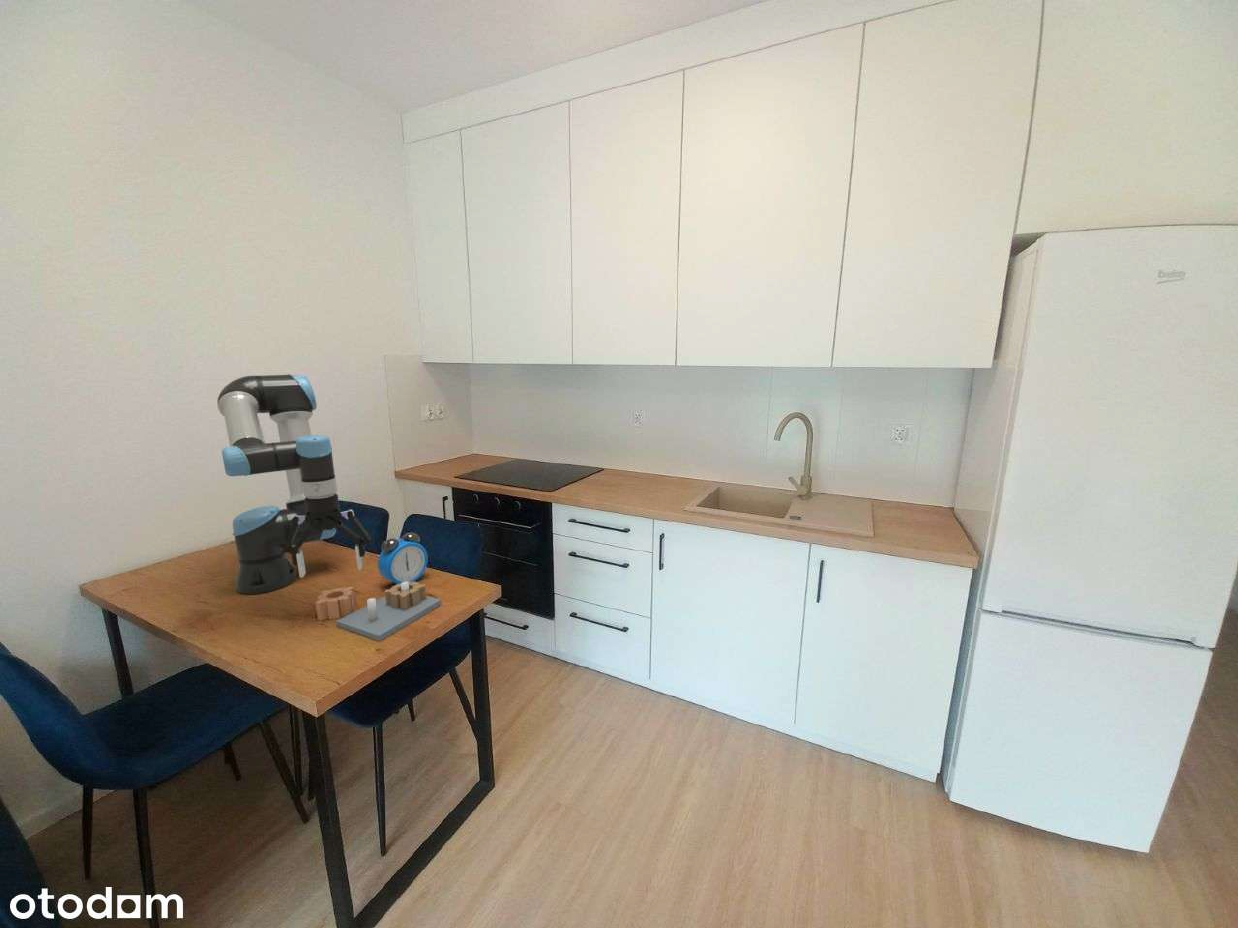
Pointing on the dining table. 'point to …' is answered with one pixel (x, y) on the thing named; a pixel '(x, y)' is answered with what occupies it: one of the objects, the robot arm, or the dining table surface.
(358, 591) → the dining table surface
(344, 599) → the loose gear
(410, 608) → the gear board
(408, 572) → the alarm clock
